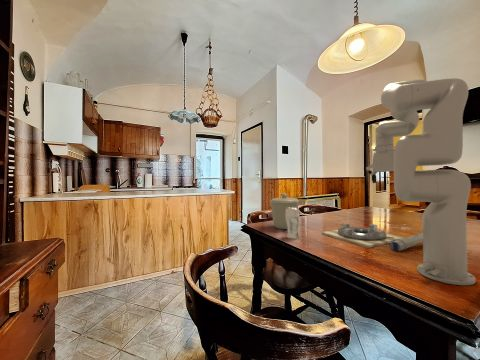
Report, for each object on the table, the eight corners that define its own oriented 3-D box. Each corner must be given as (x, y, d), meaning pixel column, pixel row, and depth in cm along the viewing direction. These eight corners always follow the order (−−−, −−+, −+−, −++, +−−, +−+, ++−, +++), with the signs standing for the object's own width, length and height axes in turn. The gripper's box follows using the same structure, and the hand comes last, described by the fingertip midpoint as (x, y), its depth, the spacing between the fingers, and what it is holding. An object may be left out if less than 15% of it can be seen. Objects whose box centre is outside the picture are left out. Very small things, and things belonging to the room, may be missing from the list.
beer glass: (283, 236, 112) (282, 207, 112) (294, 235, 114) (293, 206, 114) (291, 240, 105) (290, 209, 105) (302, 238, 108) (302, 208, 107)
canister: (268, 224, 141) (267, 192, 141) (296, 224, 140) (295, 191, 140) (271, 231, 123) (270, 194, 123) (303, 230, 122) (302, 193, 122)
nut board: (367, 248, 90) (367, 245, 90) (321, 234, 114) (321, 231, 114) (405, 239, 100) (405, 237, 100) (356, 228, 124) (356, 226, 124)
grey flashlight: (387, 239, 89) (427, 225, 97) (389, 255, 89) (429, 240, 97) (400, 243, 84) (441, 228, 92) (402, 260, 84) (443, 243, 92)
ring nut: (365, 242, 94) (365, 234, 94) (328, 232, 113) (328, 225, 113) (396, 236, 102) (396, 228, 102) (357, 227, 121) (357, 221, 121)
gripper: (363, 150, 114) (363, 183, 114) (402, 147, 100) (403, 183, 101) (368, 151, 118) (369, 182, 119) (407, 147, 105) (408, 182, 105)
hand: (385, 183), depth 110 cm, fingers open, 9 cm apart
